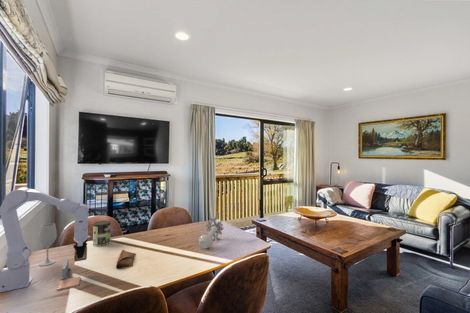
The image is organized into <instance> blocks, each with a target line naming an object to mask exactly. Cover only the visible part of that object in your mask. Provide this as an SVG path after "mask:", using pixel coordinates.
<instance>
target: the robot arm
mask: <svg viewBox="0 0 470 313" xmlns="http://www.w3.org/2000/svg"><path fill="white" fill-rule="evenodd" d="M26 201H27V203H28V202H34V201H39V202H41V203H44V204H49V205H52V206H55V207H56V208H57V210H58V211H61V212H64V213H68V214H70V215H74V224H73V225H74V228H73V230H74V231H73V232H74V233H73V235H74V236H73V242H75V244H73V249H74V251H75V250H76V254H77V258H83V255H84V250H85V248H86V246H87V247H88V240H89V239H91V235H89V215H88V214H89V212H90V209H89V206H88V205H87V204H85V203H82V202H76V201H73V200H71V198H61V199H60V198H57V197H54V196H52V195H49V194H47V193H45V192H42V191H40V190H37V189H34V188H29V187H27V186H25V187H24V186H23V187H19V188H18V189H14V190H11V191H10V192H8V194H6V195H5V196H4V199H3V201H2V203H1V205H0V218H1V222H2V227H3V230H4V236H5V239H6V244H7V251H6V257H7V258H6V261H5V266H6V267H3V268H1V270H0V293H5V292H9V291H13V290H17V289H23V288H27V287H28V286H30V283H31V281H32V279H33V277H30V272H31V271H30V267H31V266H30V264H31V262H30V260H29V258H30V257H31V255H32V250H31V249H30V248H29V246H28V244H27V242H25V241H24V236H23V232H22V228H21V223H20V219H19V216H18V215H19V214H18V211H17V210H18V208H19V207H20V206H22V204H23V203H25V202H26Z"/></svg>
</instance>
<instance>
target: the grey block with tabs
mask: <svg viewBox="0 0 470 313" xmlns="http://www.w3.org/2000/svg"><path fill="white" fill-rule="evenodd" d="M69 270H70V271H71V267H70V266H69V258H65V260H64V263H63V266H62V272H61V274H62V277H60V278H59V281H61V280H65V279H69V276H67V275H68V271H69Z"/></svg>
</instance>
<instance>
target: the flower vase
mask: <svg viewBox="0 0 470 313" xmlns="http://www.w3.org/2000/svg"><path fill="white" fill-rule="evenodd" d="M217 220H218V216H214V218H210V220H207V224H205V228H206V231H207V232H208V233H207V234H202V235H200V236H199V238H198V244H199V247H200V248H201V249H204V250H205V249H209V248H211V247H212V245H213V241H214V242H218V241H219V240H220V241H221V240H222V238H219V235H222V234H223V232H222V231H223V230H224V227H223V226H224V224H223V223H222V219H220V220H219V221H218V222H217ZM212 223H213V224H212Z"/></svg>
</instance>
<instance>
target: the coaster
mask: <svg viewBox="0 0 470 313" xmlns="http://www.w3.org/2000/svg"><path fill="white" fill-rule="evenodd" d="M80 281H81V275H79V276H75V277H70V278H68V279H65V280H61V281H60V280H59V282H58V285H57V288H56V291H62V290H65V289H70V288H74V287H78V286H80V283H81V282H80Z"/></svg>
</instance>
